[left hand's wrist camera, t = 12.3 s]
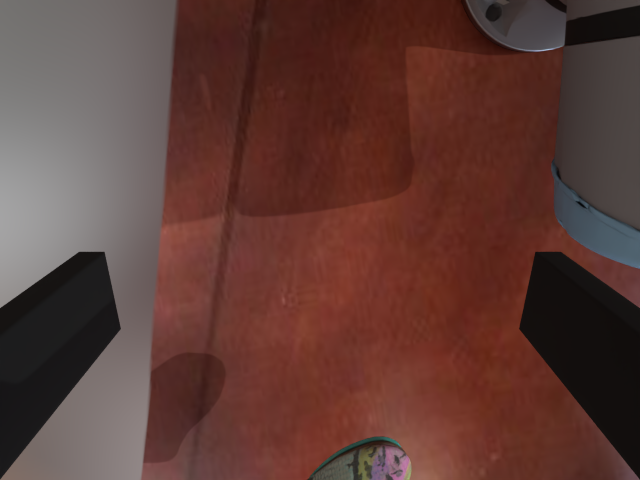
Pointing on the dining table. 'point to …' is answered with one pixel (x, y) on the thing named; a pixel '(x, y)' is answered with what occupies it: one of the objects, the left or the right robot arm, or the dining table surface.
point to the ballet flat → (366, 462)
